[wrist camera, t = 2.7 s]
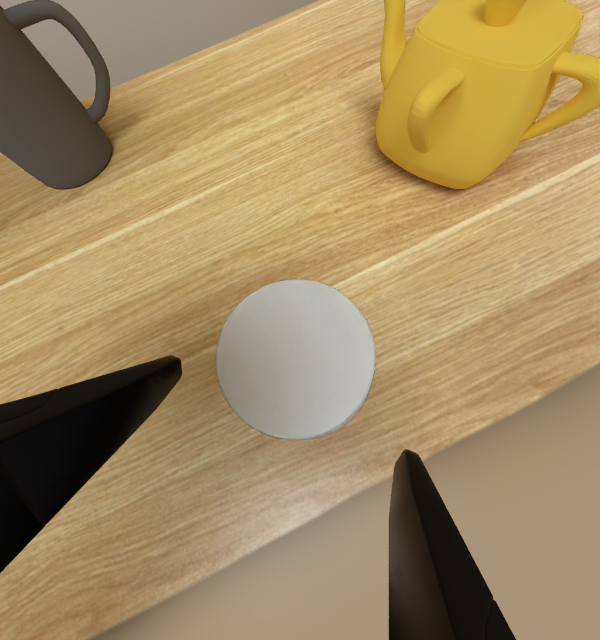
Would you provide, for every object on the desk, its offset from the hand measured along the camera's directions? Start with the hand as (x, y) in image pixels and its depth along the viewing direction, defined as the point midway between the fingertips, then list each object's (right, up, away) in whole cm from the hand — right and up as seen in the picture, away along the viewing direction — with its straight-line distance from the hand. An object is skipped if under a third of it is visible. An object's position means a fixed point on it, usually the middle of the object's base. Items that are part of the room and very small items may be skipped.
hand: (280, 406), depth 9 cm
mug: (-23, +23, +20) cm, 38 cm away
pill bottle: (+2, -1, +9) cm, 10 cm away
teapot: (+14, +20, +15) cm, 29 cm away
